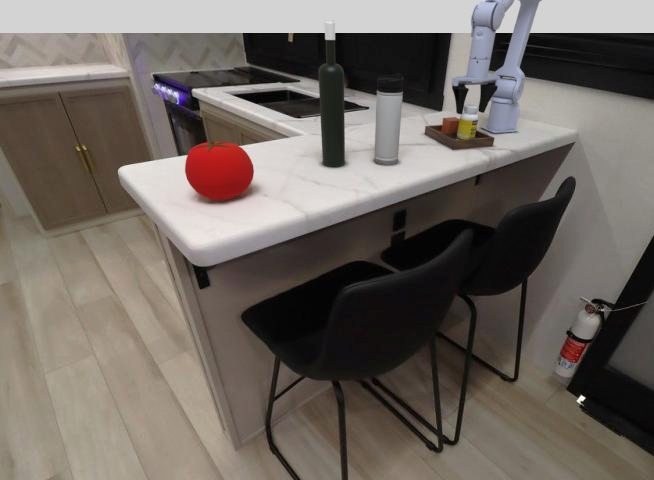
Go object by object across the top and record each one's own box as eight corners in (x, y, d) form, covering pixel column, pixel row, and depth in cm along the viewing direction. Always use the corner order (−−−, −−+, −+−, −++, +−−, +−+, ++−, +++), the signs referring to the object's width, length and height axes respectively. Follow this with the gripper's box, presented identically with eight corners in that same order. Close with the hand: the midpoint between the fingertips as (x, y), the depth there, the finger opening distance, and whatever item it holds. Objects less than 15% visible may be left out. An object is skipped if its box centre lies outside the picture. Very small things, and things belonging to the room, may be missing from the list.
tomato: (180, 198, 78) (164, 143, 71) (229, 180, 87) (219, 129, 80) (220, 213, 73) (207, 155, 67) (267, 191, 82) (260, 138, 76)
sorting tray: (461, 131, 128) (462, 123, 126) (492, 146, 115) (494, 137, 113) (424, 134, 124) (425, 125, 122) (453, 150, 110) (454, 141, 109)
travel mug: (403, 161, 101) (410, 75, 89) (387, 167, 97) (392, 77, 85) (385, 155, 104) (390, 72, 92) (369, 161, 100) (371, 74, 88)
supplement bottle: (470, 144, 113) (477, 108, 107) (453, 141, 115) (459, 106, 109) (476, 140, 116) (483, 105, 110) (459, 137, 119) (465, 103, 112)
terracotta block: (452, 131, 124) (455, 117, 121) (460, 135, 121) (462, 120, 118) (441, 132, 123) (443, 117, 120) (448, 136, 120) (450, 121, 117)
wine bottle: (349, 164, 98) (348, 20, 80) (332, 169, 95) (327, 20, 76) (335, 158, 101) (331, 19, 83) (318, 163, 98) (310, 19, 80)
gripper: (493, 56, 107) (483, 108, 116) (449, 56, 103) (441, 111, 112) (508, 59, 102) (497, 113, 111) (463, 59, 98) (454, 116, 106)
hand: (470, 112), depth 111 cm, fingers open, 7 cm apart
